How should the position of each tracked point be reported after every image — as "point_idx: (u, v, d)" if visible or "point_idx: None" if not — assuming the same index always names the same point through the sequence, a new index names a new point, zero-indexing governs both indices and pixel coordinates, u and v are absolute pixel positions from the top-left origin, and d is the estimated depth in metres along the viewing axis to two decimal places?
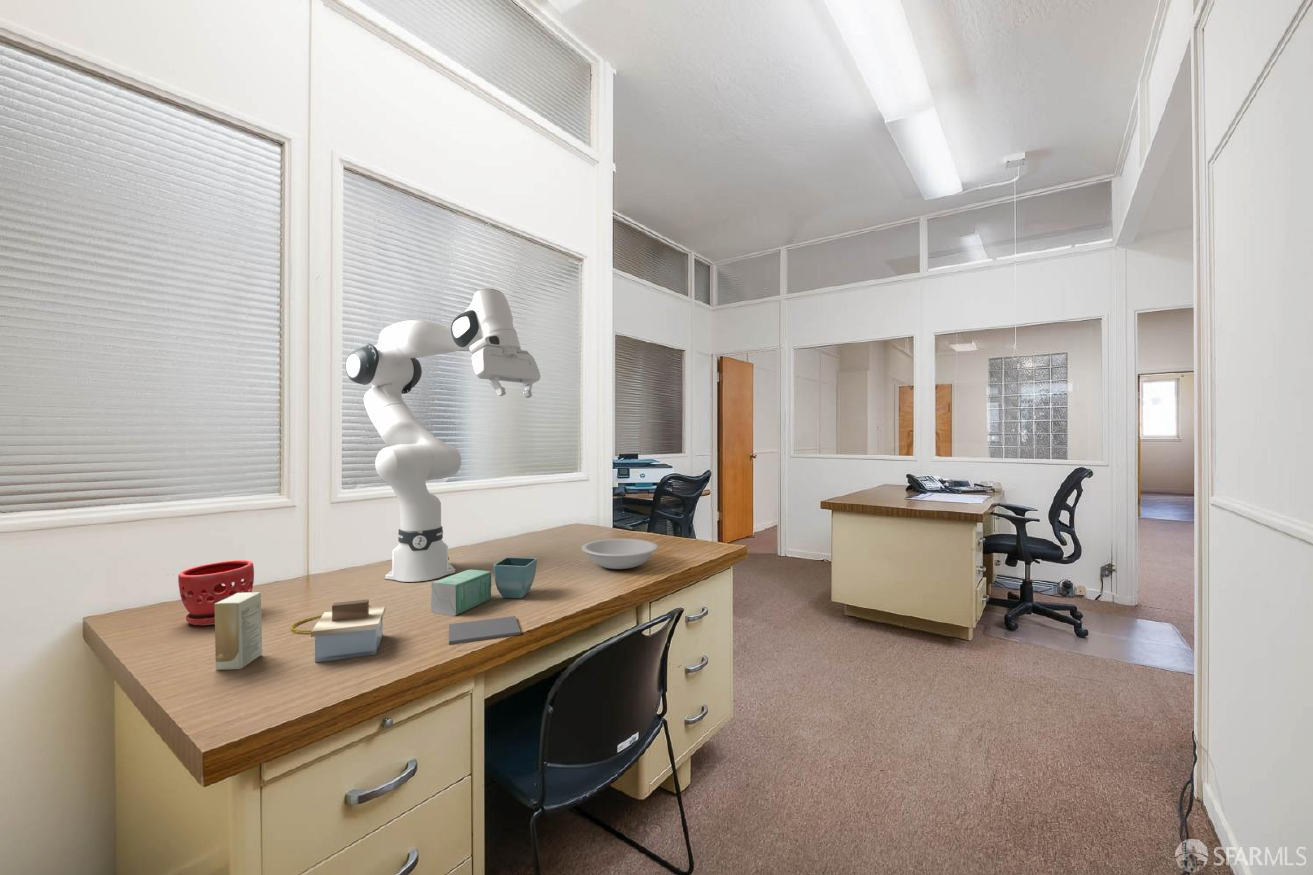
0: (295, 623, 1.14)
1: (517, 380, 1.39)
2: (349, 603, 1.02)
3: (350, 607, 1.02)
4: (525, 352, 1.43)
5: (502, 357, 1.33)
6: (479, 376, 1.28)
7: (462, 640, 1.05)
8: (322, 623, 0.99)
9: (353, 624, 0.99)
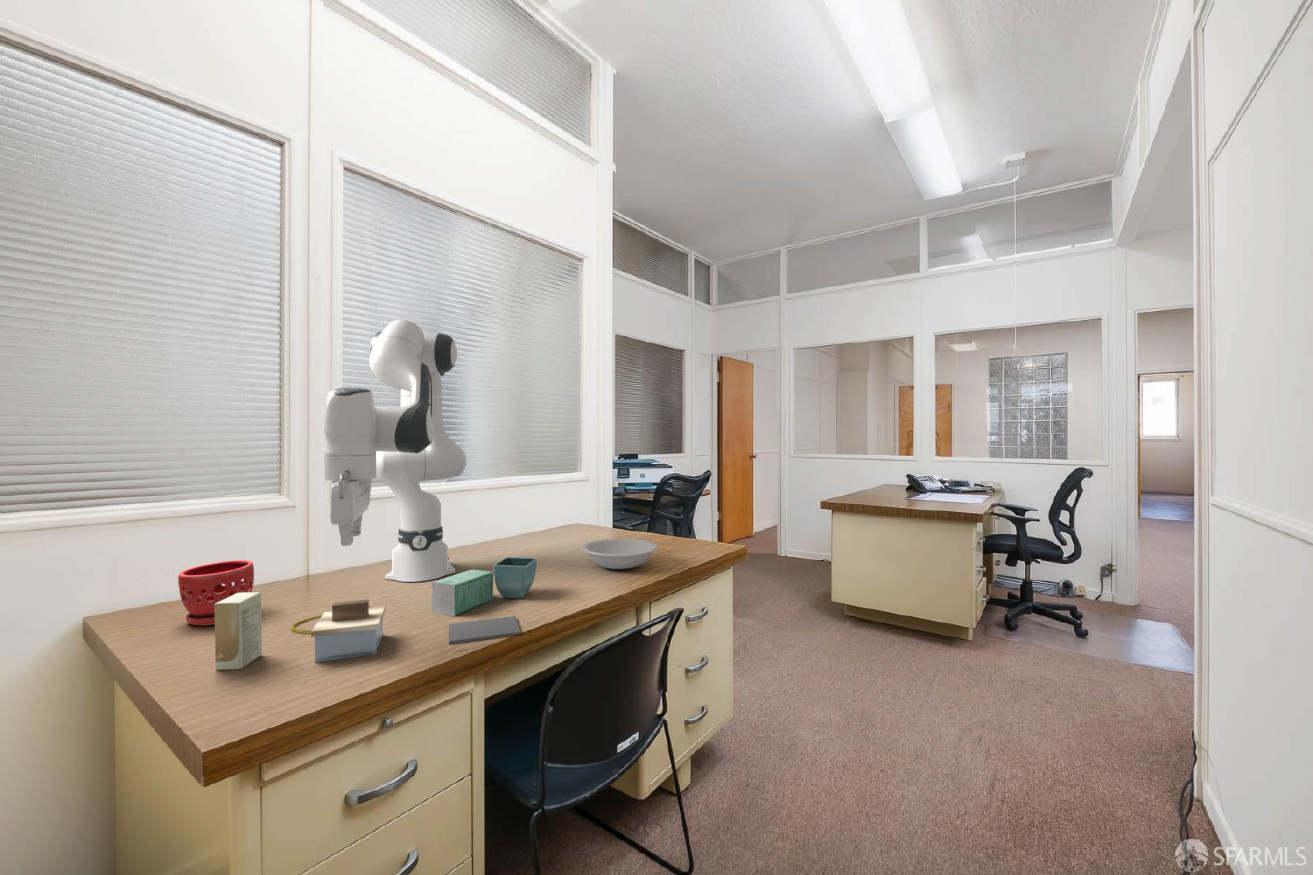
0: (295, 623, 1.14)
1: None
2: (349, 603, 1.02)
3: (350, 607, 1.02)
4: None
5: None
6: None
7: (462, 640, 1.05)
8: (322, 623, 0.99)
9: (353, 624, 0.99)
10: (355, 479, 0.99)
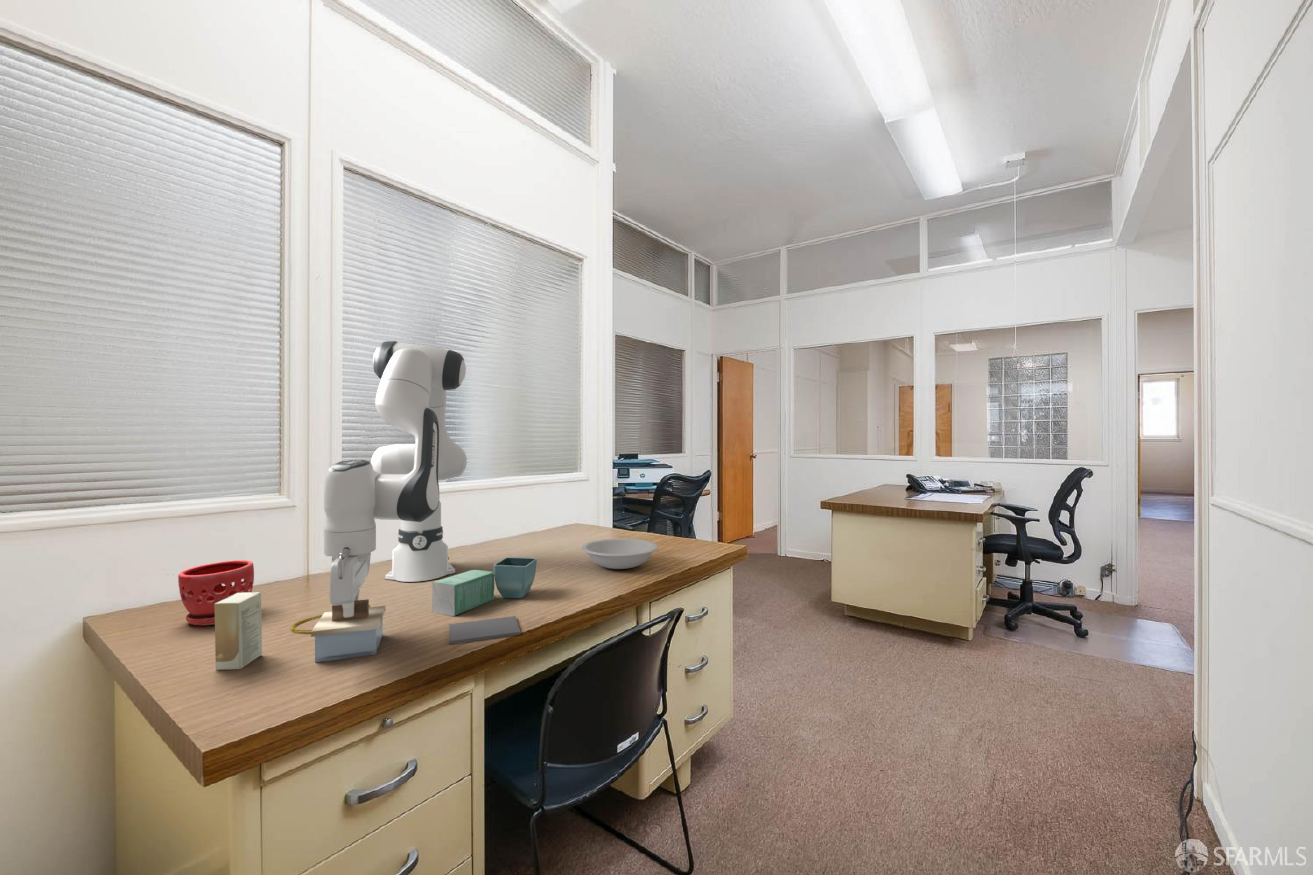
0: (295, 623, 1.14)
1: None
2: None
3: None
4: None
5: None
6: None
7: (462, 640, 1.05)
8: (322, 623, 0.99)
9: (353, 624, 0.99)
10: (354, 555, 0.99)
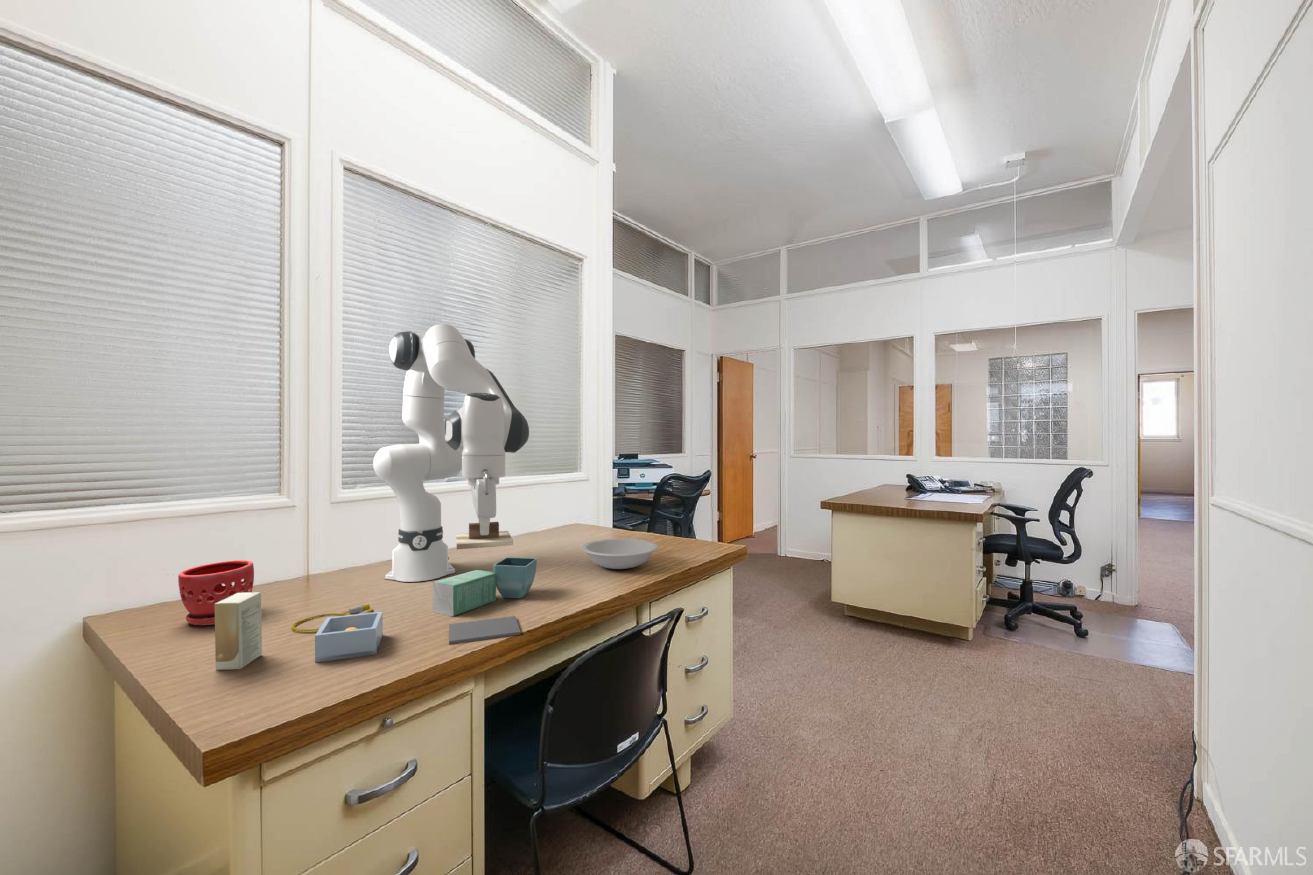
0: (295, 623, 1.14)
1: None
2: None
3: None
4: None
5: None
6: None
7: (462, 640, 1.05)
8: (461, 540, 1.08)
9: (490, 540, 1.08)
10: (491, 477, 1.08)
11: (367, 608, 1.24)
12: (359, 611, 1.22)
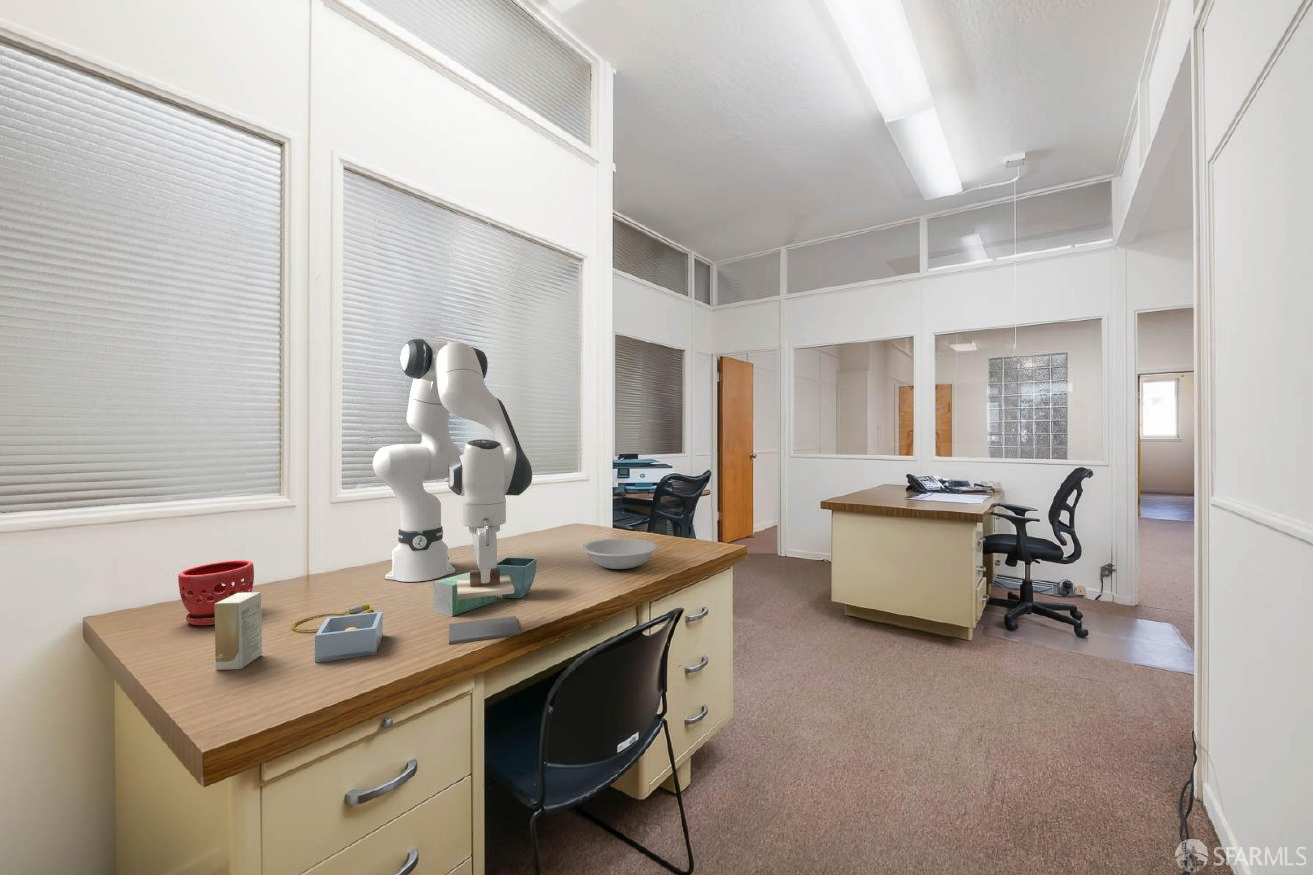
0: (295, 623, 1.14)
1: None
2: None
3: None
4: None
5: None
6: None
7: (462, 640, 1.05)
8: (462, 588, 1.08)
9: (491, 589, 1.08)
10: (492, 525, 1.08)
11: (367, 608, 1.24)
12: (359, 611, 1.23)
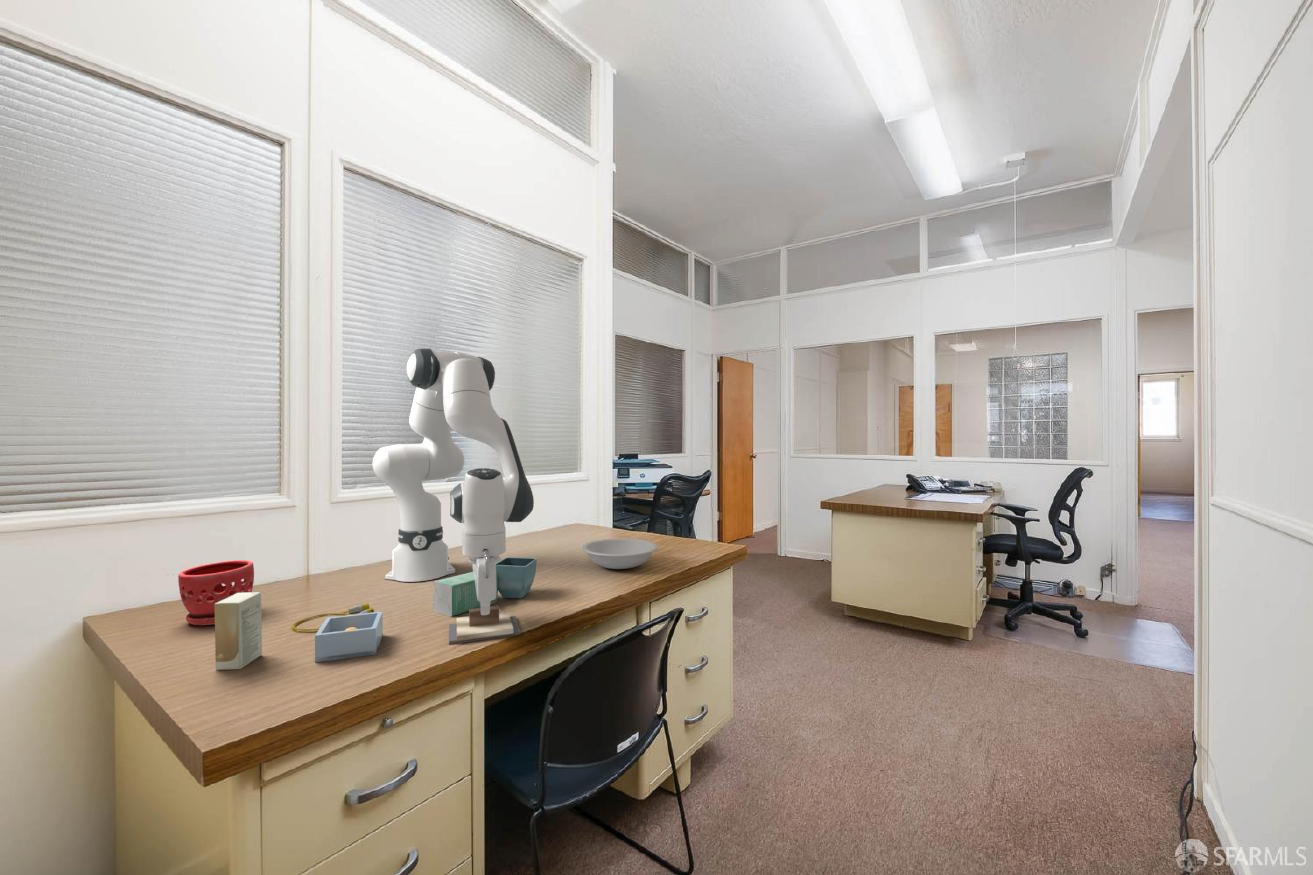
0: (295, 623, 1.14)
1: None
2: None
3: None
4: (484, 556, 1.04)
5: None
6: None
7: (462, 640, 1.05)
8: (462, 628, 1.09)
9: (490, 629, 1.08)
10: (492, 556, 1.08)
11: (366, 607, 1.24)
12: (359, 611, 1.23)
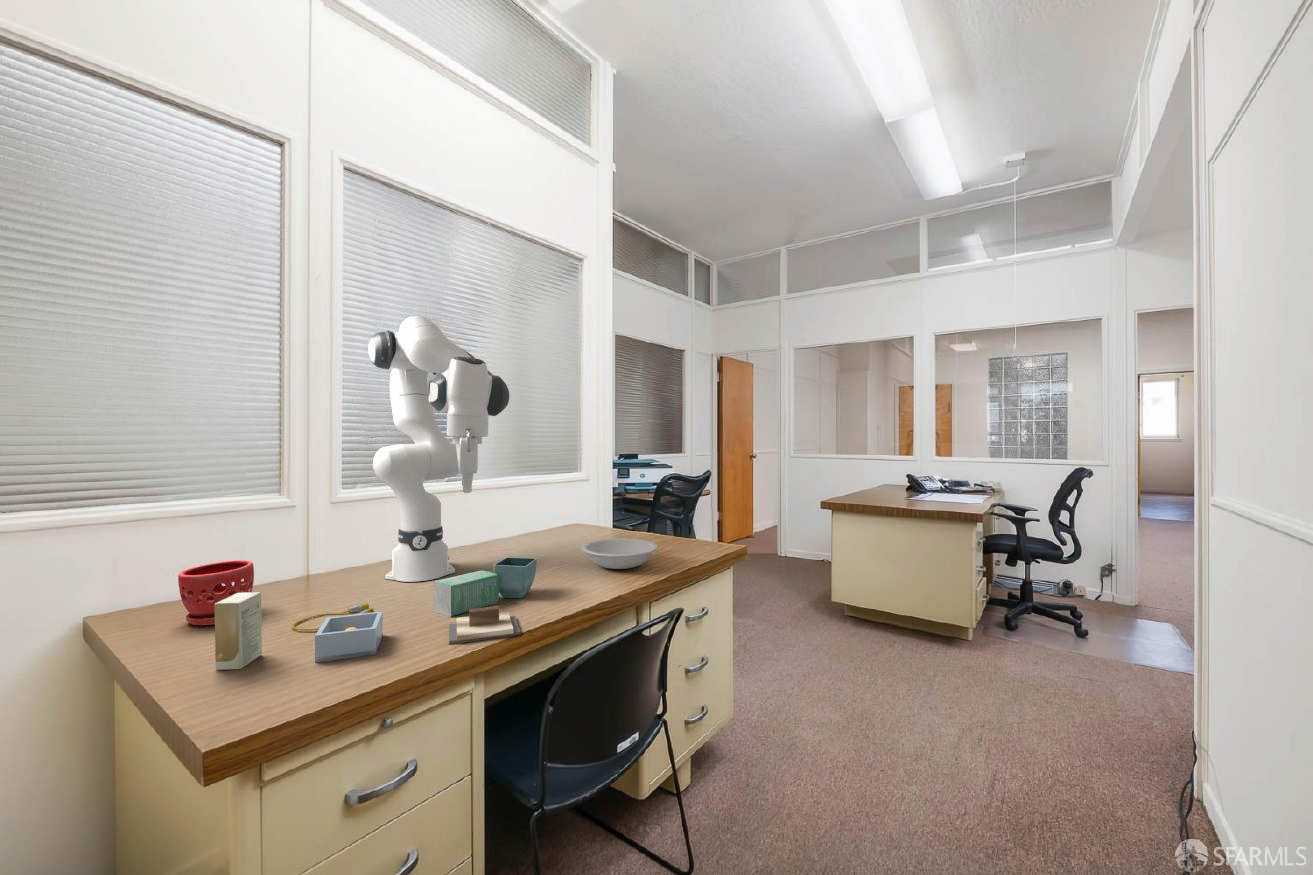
0: (295, 623, 1.14)
1: None
2: (483, 610, 1.11)
3: (484, 613, 1.11)
4: None
5: None
6: None
7: (462, 640, 1.05)
8: (462, 628, 1.09)
9: (490, 629, 1.08)
10: (474, 436, 1.15)
11: (366, 607, 1.24)
12: (358, 610, 1.23)
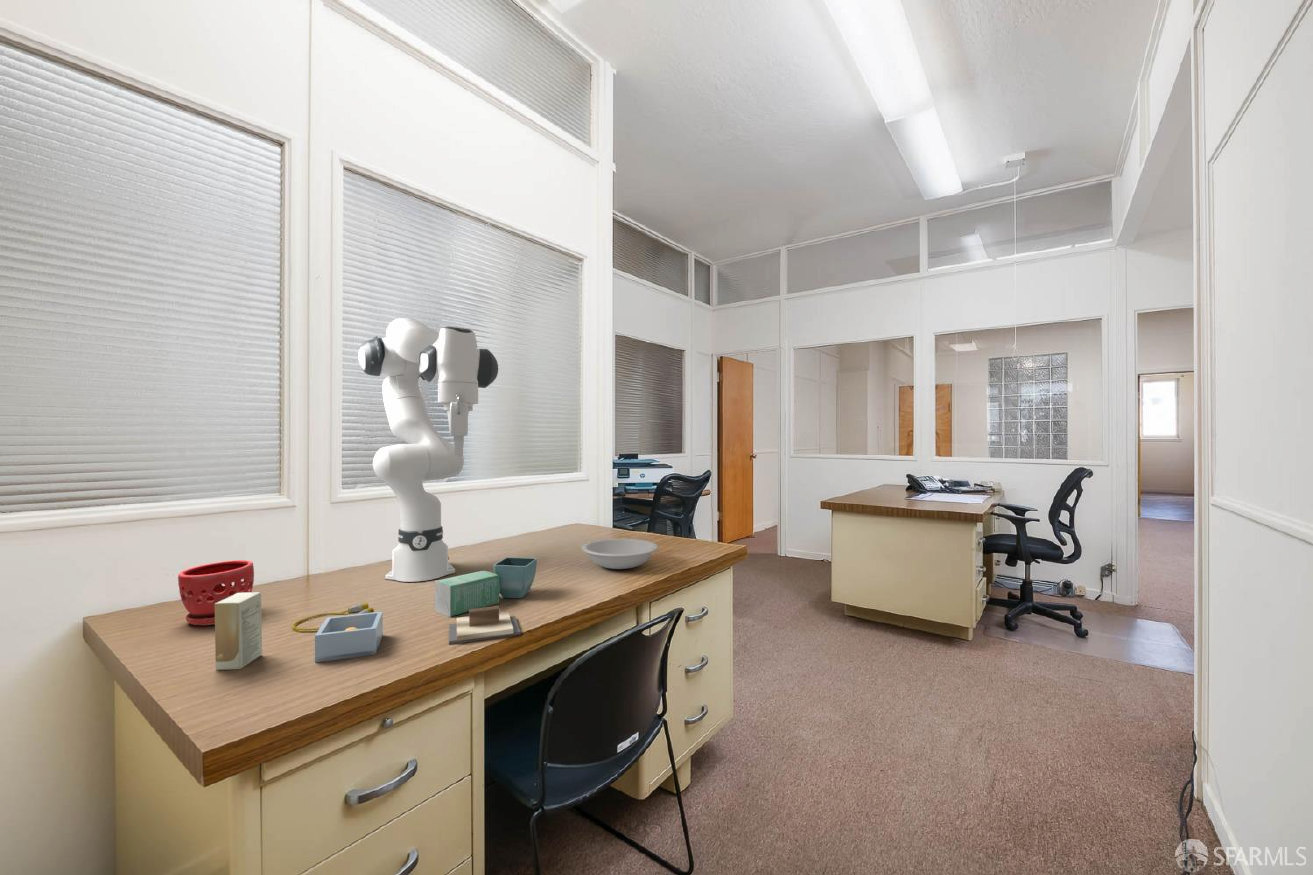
0: (295, 623, 1.14)
1: None
2: (483, 610, 1.11)
3: (484, 613, 1.11)
4: None
5: None
6: None
7: (462, 640, 1.05)
8: (462, 628, 1.09)
9: (490, 629, 1.08)
10: (464, 402, 1.18)
11: (366, 607, 1.24)
12: (358, 610, 1.23)
